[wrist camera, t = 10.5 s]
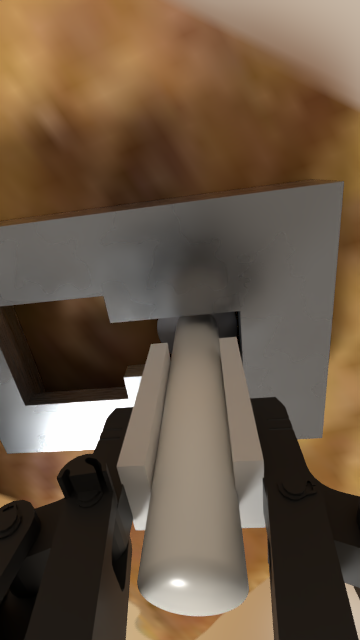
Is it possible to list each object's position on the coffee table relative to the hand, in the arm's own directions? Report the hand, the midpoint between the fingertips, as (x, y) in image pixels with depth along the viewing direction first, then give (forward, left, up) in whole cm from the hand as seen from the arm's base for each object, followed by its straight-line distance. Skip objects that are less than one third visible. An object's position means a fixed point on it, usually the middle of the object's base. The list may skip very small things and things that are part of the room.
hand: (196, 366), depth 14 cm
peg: (0, 0, -5) cm, 5 cm away
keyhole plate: (-3, 0, -6) cm, 7 cm away
